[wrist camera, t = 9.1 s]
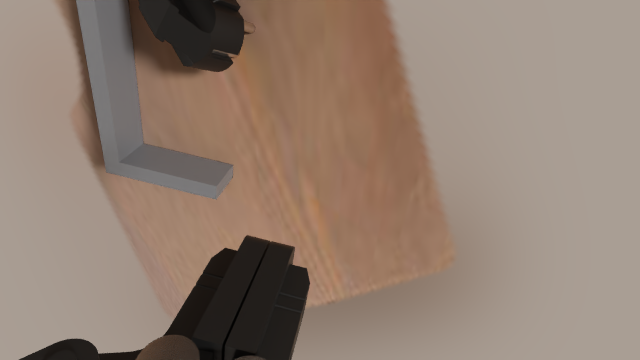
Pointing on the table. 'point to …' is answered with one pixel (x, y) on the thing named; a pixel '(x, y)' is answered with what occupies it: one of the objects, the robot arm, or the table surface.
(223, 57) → the power plug
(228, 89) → the table surface
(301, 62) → the table surface
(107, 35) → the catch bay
